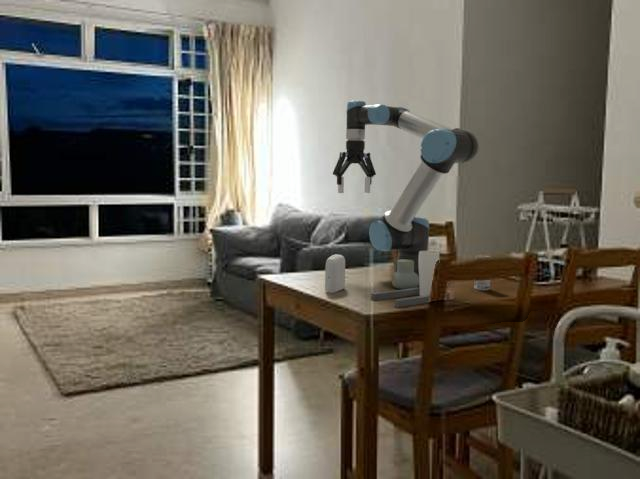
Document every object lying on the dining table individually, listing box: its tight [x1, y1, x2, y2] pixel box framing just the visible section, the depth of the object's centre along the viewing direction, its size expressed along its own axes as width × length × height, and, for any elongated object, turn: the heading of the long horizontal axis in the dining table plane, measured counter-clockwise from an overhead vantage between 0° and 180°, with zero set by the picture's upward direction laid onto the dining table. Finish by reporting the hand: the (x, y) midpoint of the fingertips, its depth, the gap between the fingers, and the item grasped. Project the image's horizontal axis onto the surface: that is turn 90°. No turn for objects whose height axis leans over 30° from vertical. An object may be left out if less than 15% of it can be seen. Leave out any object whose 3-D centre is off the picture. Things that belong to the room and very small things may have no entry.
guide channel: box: [370, 287, 455, 308], centre depth 211 cm, size 24×13×2 cm, turn 125°
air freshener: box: [391, 259, 419, 290], centre depth 229 cm, size 11×8×10 cm
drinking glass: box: [418, 250, 440, 297], centre depth 215 cm, size 7×7×15 cm
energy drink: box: [473, 254, 492, 292], centre depth 230 cm, size 5×5×12 cm
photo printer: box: [324, 254, 346, 294], centre depth 223 cm, size 10×4×12 cm, turn 156°
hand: (354, 193), depth 264 cm, fingers open, 13 cm apart
